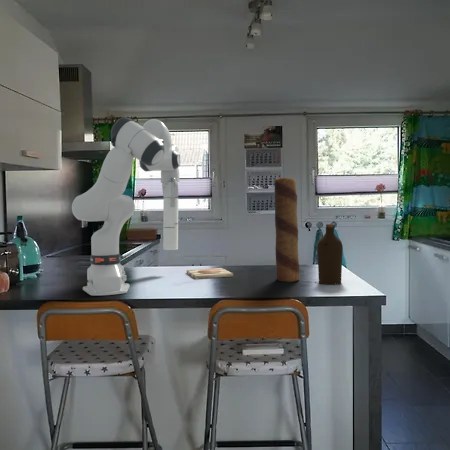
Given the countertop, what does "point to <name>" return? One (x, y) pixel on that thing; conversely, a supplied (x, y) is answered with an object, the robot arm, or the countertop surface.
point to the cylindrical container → (170, 225)
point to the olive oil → (329, 257)
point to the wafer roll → (286, 230)
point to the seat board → (209, 273)
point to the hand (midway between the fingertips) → (170, 207)
